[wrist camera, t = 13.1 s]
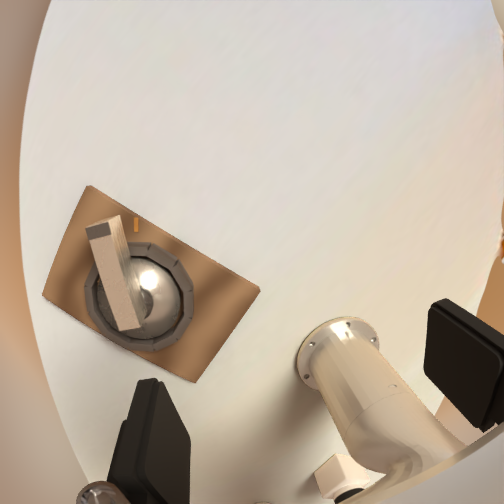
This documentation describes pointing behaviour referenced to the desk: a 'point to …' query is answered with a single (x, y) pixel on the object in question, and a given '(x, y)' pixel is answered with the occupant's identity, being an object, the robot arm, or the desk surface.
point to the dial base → (203, 270)
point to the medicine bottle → (341, 478)
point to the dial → (132, 284)
